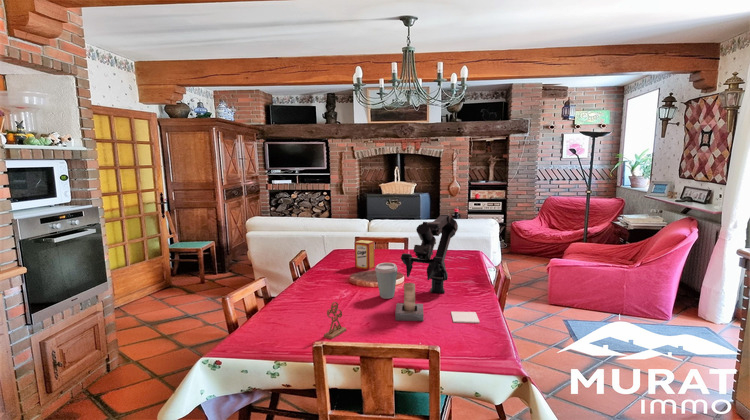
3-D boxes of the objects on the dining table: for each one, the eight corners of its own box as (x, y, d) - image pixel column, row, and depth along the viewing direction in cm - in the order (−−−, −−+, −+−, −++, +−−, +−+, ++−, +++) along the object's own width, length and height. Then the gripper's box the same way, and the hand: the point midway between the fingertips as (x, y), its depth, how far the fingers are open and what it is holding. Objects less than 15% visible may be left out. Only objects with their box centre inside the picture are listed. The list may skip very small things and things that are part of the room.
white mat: (451, 312, 166) (451, 311, 166) (475, 313, 165) (475, 312, 165) (453, 322, 156) (453, 321, 156) (479, 323, 155) (479, 321, 155)
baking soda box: (355, 268, 236) (354, 241, 234) (361, 265, 242) (360, 239, 240) (368, 270, 231) (368, 242, 229) (374, 267, 237) (374, 240, 235)
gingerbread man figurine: (338, 328, 152) (337, 297, 151) (346, 330, 150) (346, 299, 149) (323, 336, 145) (322, 304, 143) (331, 339, 143) (330, 307, 141)
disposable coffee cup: (396, 301, 180) (395, 268, 178) (372, 299, 182) (372, 267, 181) (399, 293, 191) (399, 262, 189) (377, 292, 193) (376, 261, 191)
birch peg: (404, 313, 166) (404, 282, 164) (415, 313, 166) (415, 282, 164) (404, 317, 162) (403, 286, 160) (415, 317, 161) (415, 286, 160)
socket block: (396, 310, 170) (396, 303, 169) (422, 310, 169) (422, 303, 168) (395, 320, 159) (395, 313, 158) (423, 321, 158) (423, 313, 157)
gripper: (402, 235, 176) (391, 266, 168) (443, 238, 167) (434, 271, 159) (409, 249, 184) (399, 279, 176) (448, 253, 175) (440, 284, 167)
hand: (417, 278), depth 169 cm, fingers open, 9 cm apart
